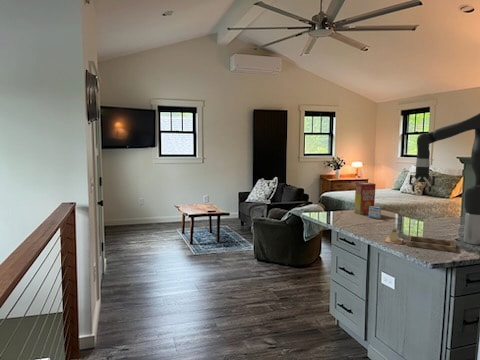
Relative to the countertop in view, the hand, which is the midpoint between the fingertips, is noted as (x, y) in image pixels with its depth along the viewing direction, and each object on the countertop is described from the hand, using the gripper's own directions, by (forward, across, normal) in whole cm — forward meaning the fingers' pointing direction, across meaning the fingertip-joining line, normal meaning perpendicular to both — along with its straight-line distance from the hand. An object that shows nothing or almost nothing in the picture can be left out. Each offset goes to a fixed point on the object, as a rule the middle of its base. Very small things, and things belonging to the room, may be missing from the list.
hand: (421, 191), depth 224 cm
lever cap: (+27, +13, +23) cm, 38 cm away
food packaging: (+27, +40, -58) cm, 75 cm away
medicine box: (+27, +31, -42) cm, 59 cm away
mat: (+27, +13, +23) cm, 38 cm away
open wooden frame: (+28, -6, +23) cm, 37 cm away
